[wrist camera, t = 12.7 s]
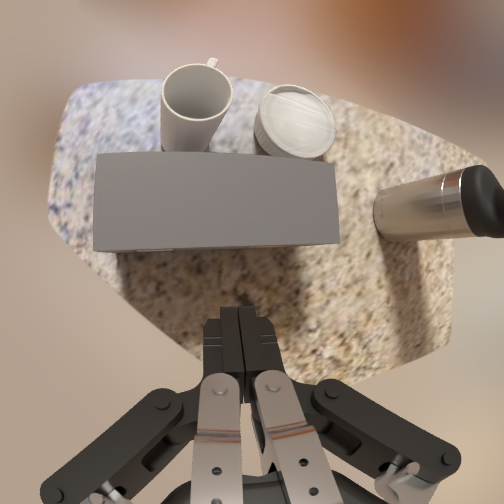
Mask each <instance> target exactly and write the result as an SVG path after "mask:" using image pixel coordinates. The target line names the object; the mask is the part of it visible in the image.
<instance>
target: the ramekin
mask: <svg viewBox="0 0 504 504" xmlns="http://www.w3.org/2000/svg"><path fill="white" fill-rule="evenodd" d="M254 131H255V135H256V138H257V140H258V143H259V144H260V146H261V147H262V148H263V150H265V151H266V153H268V154H269V155H270V156H276V157H286V158H295V159H304V160H312V159H315V158H318V157H320V156H322V155H323V154H325V153H326V152H327V151H328V150H329V149H330V148H331V146H332V144H333V142H334V139H335V122H334V119H333V116H332V114H331V112H330V110H329V109H328V107H327V106H326V104H325V103H324V102H323V101H322V100H321V99H320V98H319V97H318V96H317V95H315V94H314V93H313V92H311V91H309V90H307V89H305V88H303V87H300V86H296V85H280V86H276V87H274V88H272V89H271V90H269V91H268V92H267V93H266V94H265V95H264V97H263V98H262V100H261V102H260V104H259V108H258V112H257V115H256V117H255V122H254Z"/></svg>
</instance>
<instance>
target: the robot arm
mask: <svg viewBox="0 0 504 504" xmlns="http://www.w3.org/2000/svg"><path fill="white" fill-rule="evenodd" d="M373 214H374V220H375V224H376V227H377V229H378V231H379V232H380V234H381V235H382V236H383V237H384V238H385V239H386V240H388V241H390V242H404V241H421V240H436V239H451V238H465V237H483V236H487V237H492V238H504V189H503V188H502V187H501V185H500V184H499V182H498V181H497V179H496V177H495V176H494V174H493V173H492V172H491V171H490V170H489V169H488V168H487V167H486V166H483V165H475V166H471V167H467V168H463V169H460V170H456V171H452V172H448V173H444V174H440V175H436V176H433V177H429V178H425V179H421V180H417V181H413V182H410V183H406V184H402V185H398V186H395V187H391V188H387V189H384V190H382V191H381V192H380V193H379V194H378V195H377V197H376V199H375V202H374V208H373ZM203 338H204V339H203V369H204V370H203V372H204V373H203V378H202V380H201V382H200V383H199V384H198V385H197V386H196V387H195V388H194V389H191V390H188V391H185V392H181V393H178V394H177V393H175V392H174V391H172V390H170V389H166V388H165V389H164V388H160V389H156V390H153V391H151V392H150V393H148V394H147V395H146V396H145V397H144V398H143V399H142V400H141V401H139V402H138V403H137V404H136V405H135V406H134V407H133V408H132V409H130V410H129V411H128V412H127V413H126V414H125V415H123V416H122V417H121V418H120V419H119V420H118V421H117V422H115V423H114V424H113V425H112V426H111V427H110V428H108V429H107V430H106V431H105V432H104V433H103V434H101V435H100V436H99V437H98V438H97V439H95V440H94V441H93V442H92V443H91V444H90V445H88V446H87V447H86V448H85V449H83V451H81V452H80V453H79V454H77V455H76V456H75V457H74V458H73V459H71V460H70V461H69V462H68V463H67V464H65V465H64V466H63V467H61V468H60V469H59V470H58V471H56V472H55V473H54V474H53V475H52V476H50V477H49V478H48V479H46V480H45V481H44V482H43V483H42V485H41V488H40V496H41V499H42V502H43V503H44V504H133V503H132V502H131V501H130V500H131V499H132V498H133V497H134V496H135V495H136V494H137V493H139V492H140V491H141V490H142V489H143V488H144V487H145V486H146V485H147V484H148V483H149V482H150V481H151V480H152V479H153V478H154V477H155V476H156V475H157V474H158V473H159V472H161V471H162V470H163V469H164V467H166V465H168V463H169V462H170V461H171V460H172V459H173V458H174V457H175V456H176V455H177V454H178V453H179V452H180V451H181V450H182V449H183V448H184V447H185V446H186V445H187V444H188V443H189V441H191V440H194V447H193V461H192V479H191V481H188V482H186V483H184V484H182V485H181V486H179V487H177V488H176V489H175V490H174V491H172V492H171V493H170V494H169V495H168V496H167V497H166V499H165V500H164V501H163V502H162V503H161V504H428V503H429V501H430V499H431V498H432V496H433V494H434V492H435V490H436V488H437V486H438V484H439V483H440V482H441V481H442V480H444V479H445V478H447V477H448V476H450V475H452V474H453V473H455V472H456V471H457V470H458V468H459V466H460V464H461V454H460V452H459V450H458V449H457V448H456V447H455V446H453V445H451V444H450V443H448V442H446V441H444V440H442V439H440V438H438V437H436V436H434V435H432V434H430V433H428V432H426V431H425V430H423V429H421V428H419V427H417V426H415V425H414V424H412V423H410V422H408V421H407V420H405V419H403V418H401V417H399V416H398V415H396V414H394V413H392V412H391V411H389V410H387V409H385V408H384V407H382V406H381V405H379V404H377V403H375V402H374V401H372V400H370V399H369V398H367V397H366V396H364V395H362V394H361V393H359V392H357V391H355V390H354V389H352V388H351V387H349V386H348V385H346V384H344V383H343V382H341V381H339V380H336V379H325V380H322V381H320V382H319V383H318V384H317V385H310V384H303V383H299V382H296V381H294V380H293V379H291V378H290V377H289V376H288V375H287V374H286V372H285V369H284V366H283V362H282V358H281V354H280V350H279V346H278V343H277V338H276V336H275V330H274V326H273V324H272V323H271V322H270V320H269V319H268V318H267V317H256V312H255V307H254V306H238V307H220V319H208V321H207V322H206V324H205V326H204V332H203ZM243 395H244V402H245V403H250V404H251V411H252V414H251V420H252V425H253V429H254V433H255V437H256V441H257V445H258V449H259V453H260V458H261V468H262V473H263V476H260V477H256V476H247V475H242V460H241V436H240V406H241V404H242V403H243ZM322 447H324V448H325V449H327V450H328V451H330V452H331V453H333V454H334V455H336V456H338V457H339V458H341V459H342V460H344V461H345V462H347V463H349V464H350V465H352V466H354V467H355V468H357V469H358V470H360V471H362V472H363V473H365V474H367V475H368V476H370V477H372V478H374V479H375V483H374V485H375V490H376V492H377V493H378V494H379V495H380V496H381V497H383V498H384V500H385V501H384V500H382V499H380V498H379V497H377V496H375V495H374V494H372V493H371V492H369V491H367V490H366V489H364V488H363V487H361V486H359V485H358V484H356V483H355V482H353V481H352V480H350V479H349V478H347V477H346V476H344V475H342V474H340V473H338V472H336V471H333V470H331V469H330V466H329V463H328V461H327V458H326V455H325V453H324V450H323V448H322Z"/></svg>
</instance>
